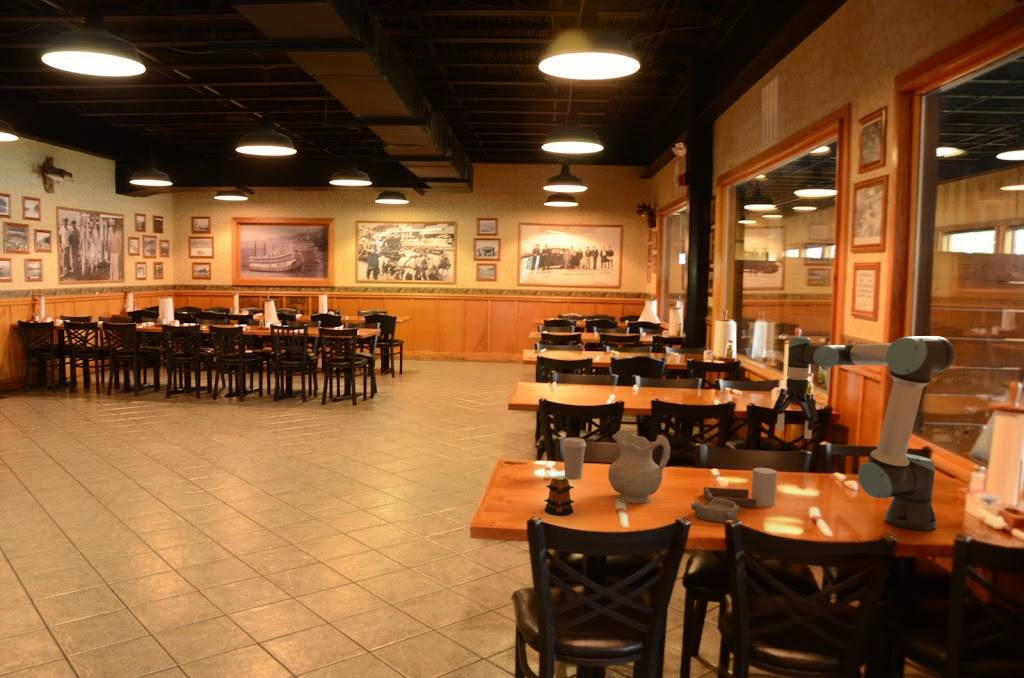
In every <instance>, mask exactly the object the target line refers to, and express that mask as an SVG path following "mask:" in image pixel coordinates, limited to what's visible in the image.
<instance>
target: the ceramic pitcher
mask: <svg viewBox="0 0 1024 678" xmlns="http://www.w3.org/2000/svg"><path fill="white" fill-rule="evenodd" d="M612 439H613V440H614V441H615V442H616V443H617V444H618V446H619V449H620V453H619V454H620V455H619V457H618V458H617V459H616V460H615V461H613V462H612V463H611V464H610V465H609V467H608V480H609V481H608V482H609V483H610V485H611V487H612V488H613V490H614V491H615V492H617V493H619V495H618V499H619V500H620V499H622V500H624V501H625V503H627V504H631V505H632V504H649V503H650V502H651V501H652V499H651V498H650V496H652V495H654V494H655V493H656V492H657V491H658V489H659V488H660V486H661V485H662V481H663V470H664V468H665V467H666V466H667V464H668V462H669V460H670V456H671V445H670V443H669V440H668V437H667V436H666V435H664V434H658V435H656V439H655V441H649V440H648V439H647V438H646V437H645V436H637V435H636V436H635V435H633V433H632V432H631V431H627V430H626V429H620V430H617V432H616V433H614V434H612ZM659 446H662V447H663V450H664V452H663V453H664V454H663V456H662V458H661V460H660V462H659V465H658V464H657V463H656V462H655V461H654V459H653V451H654V449H656V448H657V447H659ZM624 501H623V502H624Z"/></svg>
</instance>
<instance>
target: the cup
mask: <svg viewBox="0 0 1024 678" xmlns="http://www.w3.org/2000/svg"><path fill="white" fill-rule="evenodd" d="M777 475H778V472H777V470H775V469H772V468H767V467H754V468H752V481H751V498H750V499H756V500H757V502H756V507H757V506H758V507H765V508H771V507H775V506H776V494H777V477H778V476H777Z"/></svg>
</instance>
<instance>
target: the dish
mask: <svg viewBox="0 0 1024 678" xmlns="http://www.w3.org/2000/svg"><path fill="white" fill-rule="evenodd" d="M690 508H691V510H693V511H694V514H695V516H696V517H697V518H699V519H701V520H703V521H707V522H714V523H726V522H725V521H727V520H734V521H735V520H737V518H738V513H740V512H741V511H740V509H741V508H740V507H739V506H736V504H735V503H734V502H732V501H730V500H725V499H718V498H713V499H712V501H711V502H710V503H709V504H706V505H705V504H704V505H703V504H702V503H701V502H700V501H699V500H695V501H694V502H692V503H691V504H690Z"/></svg>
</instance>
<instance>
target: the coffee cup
mask: <svg viewBox="0 0 1024 678" xmlns="http://www.w3.org/2000/svg"><path fill="white" fill-rule="evenodd" d="M561 445H562V446H563V464H564V465H563V467H564V478H565V479H567V480H580V479H582V474H583V466H584V459H585V458H584V457H585V451H586V450H585V449H586V447H587V443H586V441H585V439H584V438H582V437H565V438H564V440H563V441H562V444H561Z"/></svg>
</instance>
